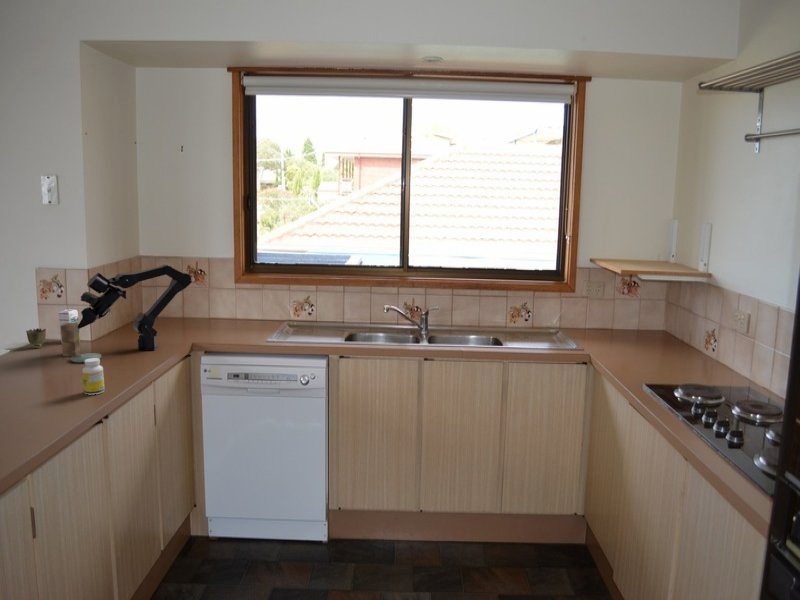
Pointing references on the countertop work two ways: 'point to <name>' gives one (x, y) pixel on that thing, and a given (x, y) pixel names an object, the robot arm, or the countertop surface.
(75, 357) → the dish
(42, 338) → the cup
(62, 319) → the syrup box
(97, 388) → the pill bottle
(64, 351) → the walnut block
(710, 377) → the countertop surface
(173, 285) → the robot arm
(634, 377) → the countertop surface
